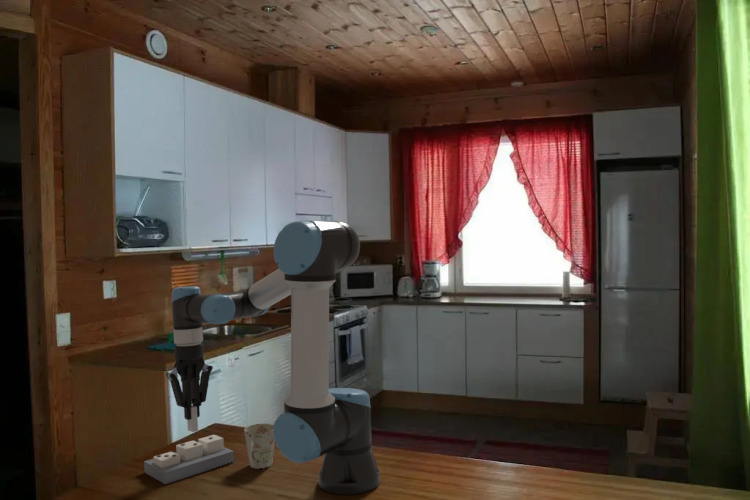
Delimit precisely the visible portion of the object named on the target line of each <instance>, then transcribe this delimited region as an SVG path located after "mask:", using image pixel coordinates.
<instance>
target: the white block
mask: <svg viewBox="0 0 750 500" xmlns="http://www.w3.org/2000/svg"><path fill="white" fill-rule="evenodd" d="M197 442H198V443H200V444H202V449H203V453H204V454H206V455H209V454H212V453H215V452H218V451H222V450H224V447H225V444H224V437H221V436H219V435H217V434H211V435H208V436H205V437H201V438H197Z"/></svg>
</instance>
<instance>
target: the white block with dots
mask: <svg viewBox="0 0 750 500" xmlns="http://www.w3.org/2000/svg"><path fill="white" fill-rule="evenodd" d="M152 459H153V461H154V465H155V466H157V467H159V468H161V469H163V468H166V467H169V466H172V465H176V464H179V463H180V455H177V454H175V452H173V451H168V452H165V453H160V454H158V455H155V456H153V458H152Z"/></svg>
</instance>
